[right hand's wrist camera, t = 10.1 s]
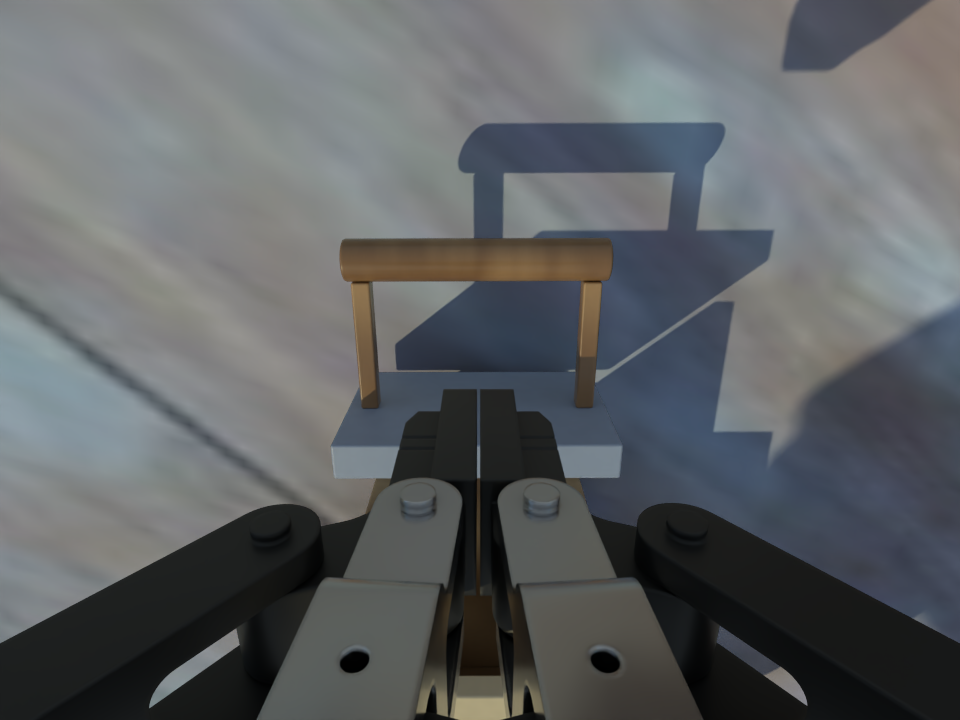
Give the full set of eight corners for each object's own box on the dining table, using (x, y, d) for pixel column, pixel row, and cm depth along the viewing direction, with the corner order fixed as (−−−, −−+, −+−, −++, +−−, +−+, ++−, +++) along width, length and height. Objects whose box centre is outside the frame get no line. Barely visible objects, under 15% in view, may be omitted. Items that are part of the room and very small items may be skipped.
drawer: (354, 224, 21) (308, 256, 15) (599, 224, 21) (643, 255, 15) (389, 658, 29) (367, 783, 23) (568, 657, 29) (590, 783, 23)
